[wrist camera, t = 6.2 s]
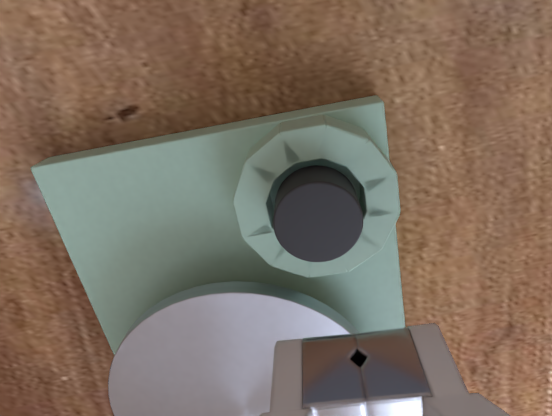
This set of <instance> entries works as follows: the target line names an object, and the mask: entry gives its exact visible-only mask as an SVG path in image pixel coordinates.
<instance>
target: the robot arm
mask: <svg viewBox="0 0 552 416" xmlns="http://www.w3.org/2000/svg"><path fill="white" fill-rule="evenodd" d="M260 416H510V415H509V414H508V413H506V412H505V411H503V410H502V409H500V408H499V407H498V406H496V405H495V404H493V403H492V402H491V401H489V400H488V399H486V398H485V397H483V396H482V395H481V394H479V393H470V394H469V393H468V390H467V388H466V386H465V384H464V382H463V379H462V377H461V375H460V373H459V370H458V368H457V366H456V364H455V362H454V359H453V357H452V355H451V353H450V351H449V348H448V346H447V344H446V342H445V339H444V337H443V335H442V333H441V331H440V328H439V326H438V325H437V324H435V323H429V324H422V325H414V326H408V327H403V328H394V329H386V330H378V331H370V332H361V333H353V334H342V335H331V336H320V337H309V338H303V339H292V340H281V341H277V342H276V344H275V347H274V360H273V373H272V386H271V400H270V412H267V413H261V414H260Z"/></svg>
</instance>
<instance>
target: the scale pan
mask: <svg viewBox="0 0 552 416" xmlns="http://www.w3.org/2000/svg"><path fill="white" fill-rule="evenodd" d="M353 333H359V331H358V330H357V329H356V328H355V327H354V326H353V325H352V324H351V323H350V322H349V321H348V320H347V319H345V318H344V317H343V316H342V315H341V314H339V313H338V312H336V311H335V310H334V309H332V308H331V307H329V306H328V305H326V304H324V303H322V302H320V301H318V300H316V299H314V298H312V297H311V296H308V295H306V294H303V293H300V292H298V291H295V290H292V289H288V288H284V287H281V286H277V285H273V284H265V283H258V282H242V281H230V282H219V283H211V284H206V285H201V286H196V287H193V288H190V289H187V290H184V291H181V292H178V293H176V294H174V295H172V296H170V297H168V298H166V299H163V300H162V301H160V302H159V303H157V304H156V305H154V306H153V307H151V308H150V309H148V310H147V311H146V312H145V313H144V314H143V315H142V316H140V317H139V318H138V319H137V320H136V321H135V323H134V324H133V325H132V326H131V328H130V329H129V330H128V331H127V333H126V335H125V337H124V339H123V341H122V342H121V344H120V346H119V348H118V350H117V352H116V353H115V355H114V358H113V361H112V364H111V367H110V372H109V379H108V392H109V400H110V404H111V409H112V411H113V414H114V416H260V414H261V413H267V412H270V400H271V386H272V373H273V360H274V347H275V344H276V342H277V341H281V340H292V339H303V338H309V337H320V336H331V335H342V334H353Z"/></svg>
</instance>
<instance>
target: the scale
mask: <svg viewBox="0 0 552 416" xmlns="http://www.w3.org/2000/svg"><path fill="white" fill-rule="evenodd" d="M313 165H321V166H327V167H331V168H333V169H336V170H338V171H339V172H341V173H342V174H344V175H345V176H346V177H347V178H348V179H349V180H350V182H351V183H352V185H353V187H354V189H355V192H356V194H357V197H358V200H359V203H360V206H361V209H362V213H363V228H362V232H361V235H360V237H359V239H358V241H357V242H356V244H355V245H354V246H353V247H352V248H351V249H350V250H349V251H348V252H347V253H346V254H344V255H342V256H341V257H339V258H336V259H334V260H331V261H326V262H309V261H304V260H301V259H299V258H296V257H295V256H293V255H291V254H290V253H288V252H287V251H286V250H285V249H284V248H283V247H282V246H281V245H280V243H279V242H278V240H277V238H276V236H275V233H274V228H273V215H274V207H275V199H276V194H277V191H278V189H279V187H280V185H281V183H282V182H283V181H284V180H285V178H286V177H288V176H289V175H290V174H291V173H293V172H294V171H296V170H298V169H300V168H303V167H307V166H313ZM31 171H32V173H33V175H34V177H35V180H36V182H37V184H38V186H39V189H40V191H41V193H42V195H43V197H44V200H45V202H46V204H47V206H48V209H49V211H50V213H51V215H52V218H53V220H54V222H55V224H56V226H57V229H58V231H59V233H60V235H61V238H62V240H63V242H64V244H65V247H66V249H67V251H68V253H69V255H70V258H71V260H72V262H73V264H74V267H75V269H76V271H77V273H78V276H79V278H80V280H81V282H82V284H83V287H84V289H85V291H86V293H87V296H88V298H89V300H90V302H91V305H92V307H93V309H94V311H95V313H96V316H97V318H98V320H99V322H100V325H101V327H102V329H103V331H104V334H105V336H106V338H107V340H108V342H109V345H110V347H111V349H112V351H113V354H114V355H115V353H116V352H117V350H118V348H119V346H120V344H121V342H122V341H123V339H124V337H125V335H126V333H127V331H128V330H129V329H130V328H131V326H132V325H133V324H134V323H135V321H136V320H137V319H138V318H139V317H140V316H142V315H143V314H144V313H145V312H146V311H147V310H148V309H150V308H151V307H153V306H154V305H156V304H157V303H159V302H160V301H162V300H163V299H166V298H168V297H170V296H172V295H174V294H176V293H178V292H181V291H184V290H187V289H190V288H193V287H196V286H201V285H206V284H211V283H219V282H230V281H242V282H258V283H265V284H273V285H277V286H281V287H284V288H288V289H292V290H295V291H298V292H300V293H303V294H306V295H308V296H311V297H312V298H314V299H316V300H318V301H320V302H322V303H324V304H326V305H328V306H329V307H331V308H332V309H334V310H335V311H336V312H338V313H339V314H341V315H342V316H343V317H344V318H345V319H347V320H348V321H349V322H350V323H351V324H352V325H353V326H354V327H355V328H356V329H357V330H358V331H359V333H361V332H370V331H378V330H386V329H394V328H403V327H405V318H404V307H403V297H402V286H401V276H400V265H399V255H398V244H397V234H396V224H395V223H396V221H397V220H398V218H399V216H400V201H399V190H398V178H397V173H396V171H395V169H394V167H393V166H392V164H391V163H390V161H389V150H388V140H387V130H386V119H385V109H384V102H383V101H382V100H381V99H380V98H379V97H378V96H377V95H374V96H369V97H364V98H358V99H353V100H348V101H343V102H337V103H332V104H327V105H322V106H316V107H311V108H306V109H300V110H295V111H290V112H285V113H279V114H274V115H269V116H264V117H258V118H253V119H248V120H243V121H237V122H232V123H227V124H222V125H216V126H211V127H206V128H200V129H195V130H190V131H185V132H179V133H174V134H169V135H164V136H158V137H153V138H148V139H143V140H137V141H132V142H127V143H121V144H116V145H111V146H106V147H100V148H95V149H90V150H85V151H79V152H74V153H69V154H64V155H58V156H53V157H48V158H47V159H45V160H43V161H41V162H39V163H38V164H36V165H34V166H32V167H31Z"/></svg>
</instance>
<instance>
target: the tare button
mask: <svg viewBox="0 0 552 416" xmlns="http://www.w3.org/2000/svg"><path fill="white" fill-rule="evenodd" d="M273 228H274V233H275V236H276V238H277V240H278V242H279V243H280V245H281V246H282V247H283V248H284V249H285V250H286V251H287V252H288V253H290V254H291V255H293V256H295V257H296V258H299V259H301V260H304V261H309V262H326V261H331V260H334V259H336V258H339V257H341V256H342V255H344V254H346V253H347V252H348V251H349V250H350V249H351V248H352V247H353V246H354V245H355V244H356V242H357V241H358V239H359V237H360V235H361V232H362V228H363V213H362V209H361V206H360V203H359V200H358V197H357V194H356V192H355V189H354V187H353V185H352V183H351V182H350V180H349V179H348V178H347V177H346V176H345V175H344V174H342V173H341V172H339V171H338V170H336V169H333V168H331V167H327V166H321V165H313V166H307V167H303V168H300V169H298V170H296V171H294V172H293V173H291V174H290V175H289V176H288V177H286V178H285V180H284V181H283V182H282V183H281V185H280V187H279V189H278V191H277V194H276V199H275V207H274V215H273Z"/></svg>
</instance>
